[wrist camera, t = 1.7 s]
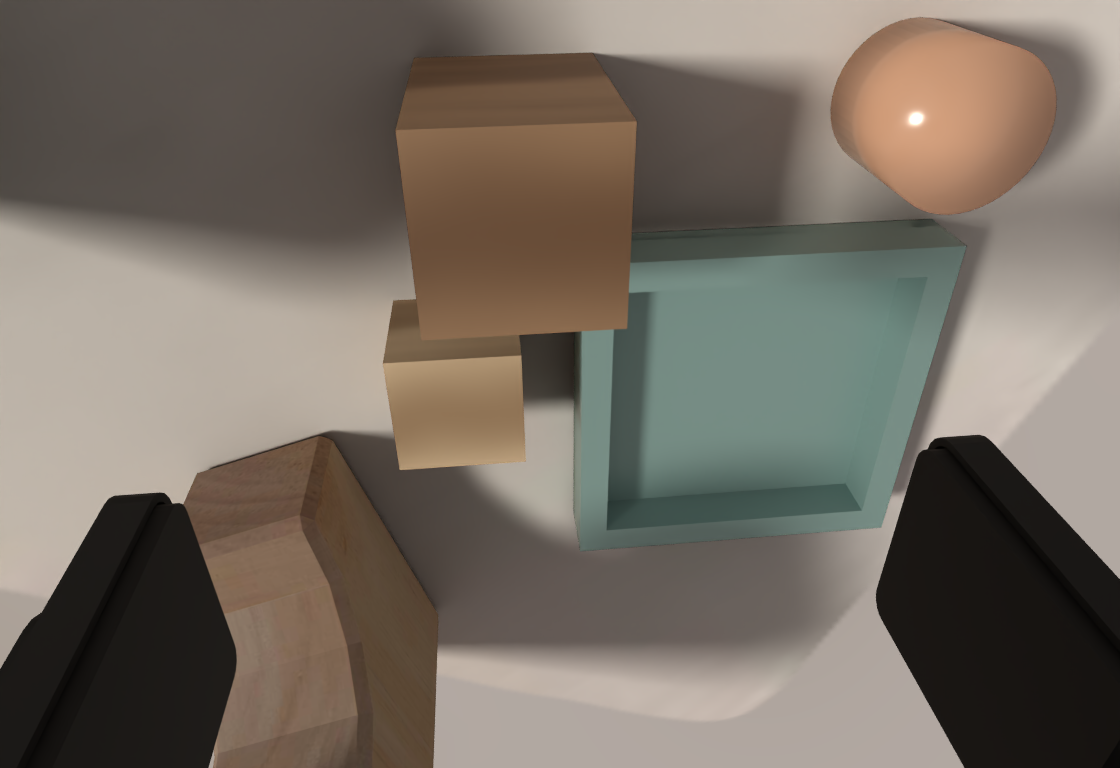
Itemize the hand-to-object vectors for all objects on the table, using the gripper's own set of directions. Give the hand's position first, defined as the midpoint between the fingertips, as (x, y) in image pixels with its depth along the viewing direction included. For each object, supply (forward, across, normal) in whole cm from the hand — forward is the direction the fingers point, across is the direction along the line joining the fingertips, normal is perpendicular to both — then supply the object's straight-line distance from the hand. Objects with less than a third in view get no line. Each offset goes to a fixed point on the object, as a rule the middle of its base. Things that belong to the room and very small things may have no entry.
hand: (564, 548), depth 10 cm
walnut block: (+16, 0, -1) cm, 16 cm away
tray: (+16, -8, +8) cm, 20 cm away
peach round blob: (+16, -12, -2) cm, 20 cm away
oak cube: (+16, +2, +6) cm, 18 cm away
